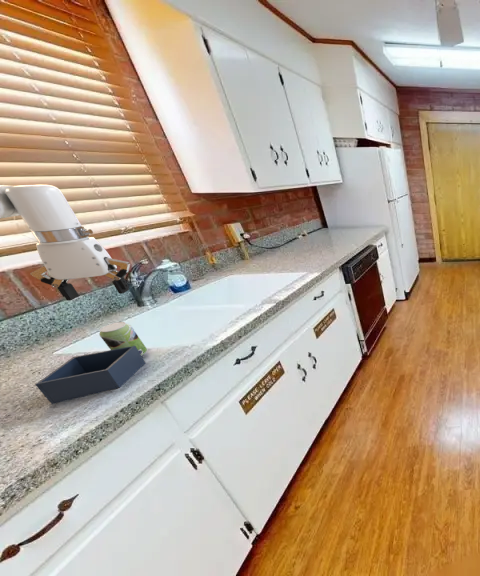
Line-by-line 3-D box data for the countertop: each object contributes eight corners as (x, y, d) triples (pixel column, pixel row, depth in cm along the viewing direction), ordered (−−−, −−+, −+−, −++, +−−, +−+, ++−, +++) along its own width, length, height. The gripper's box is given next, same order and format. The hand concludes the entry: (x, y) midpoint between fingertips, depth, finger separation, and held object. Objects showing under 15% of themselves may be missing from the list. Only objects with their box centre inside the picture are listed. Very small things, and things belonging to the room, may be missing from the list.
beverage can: (146, 349, 97) (126, 317, 92) (152, 355, 93) (131, 322, 88) (116, 359, 92) (93, 326, 87) (121, 366, 88) (97, 332, 83)
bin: (51, 404, 75) (34, 384, 72) (87, 375, 85) (73, 356, 82) (120, 389, 80) (107, 370, 77) (146, 363, 90) (135, 345, 87)
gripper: (119, 229, 82) (150, 284, 89) (21, 236, 75) (62, 296, 82) (101, 235, 76) (135, 294, 83) (-7, 243, 69) (40, 307, 76)
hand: (99, 295), depth 83 cm, fingers open, 9 cm apart
